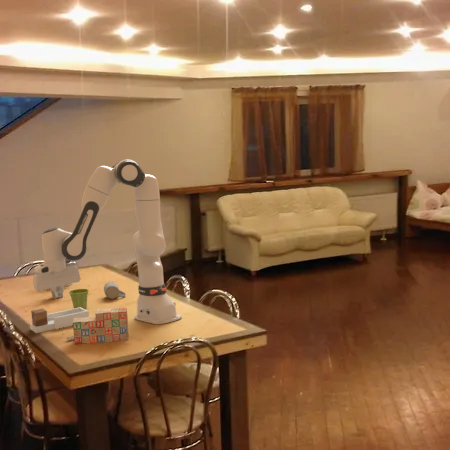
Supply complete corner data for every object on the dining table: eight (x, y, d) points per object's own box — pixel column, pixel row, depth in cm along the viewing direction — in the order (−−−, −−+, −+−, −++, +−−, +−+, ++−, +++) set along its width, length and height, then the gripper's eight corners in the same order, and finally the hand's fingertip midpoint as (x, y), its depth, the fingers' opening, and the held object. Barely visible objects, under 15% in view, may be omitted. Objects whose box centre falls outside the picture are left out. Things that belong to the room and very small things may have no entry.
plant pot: (70, 312, 300) (69, 294, 298) (69, 307, 309) (68, 289, 307) (90, 309, 302) (89, 292, 301) (89, 305, 311) (88, 287, 310)
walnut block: (47, 324, 273) (46, 310, 272) (36, 326, 270) (35, 313, 269) (43, 321, 277) (42, 308, 276) (32, 324, 274) (31, 310, 273)
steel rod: (98, 332, 266) (98, 329, 265) (100, 334, 264) (100, 331, 264) (66, 340, 258) (67, 336, 257) (68, 342, 256) (68, 338, 256)
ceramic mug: (105, 300, 318) (104, 285, 317) (104, 296, 326) (103, 282, 325) (126, 298, 321) (125, 283, 320) (124, 294, 329) (123, 280, 328)
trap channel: (89, 321, 282) (88, 310, 282) (36, 333, 269) (35, 322, 268) (81, 317, 289) (80, 307, 288) (30, 329, 275) (28, 317, 275)
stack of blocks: (74, 345, 252) (71, 315, 250) (76, 340, 258) (73, 310, 256) (128, 340, 254) (126, 310, 252) (129, 335, 260) (126, 306, 258)
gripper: (75, 259, 284) (78, 289, 286) (30, 268, 272) (34, 300, 274) (80, 261, 278) (84, 292, 281) (35, 270, 267) (39, 302, 269)
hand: (59, 296), depth 277 cm, fingers closed
